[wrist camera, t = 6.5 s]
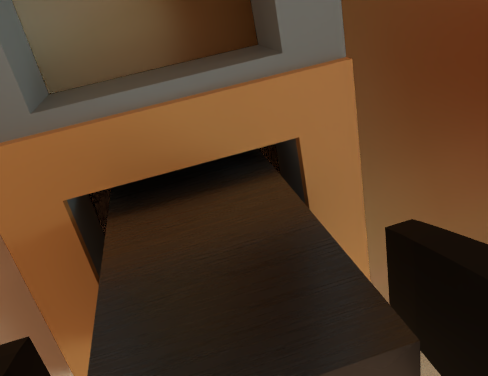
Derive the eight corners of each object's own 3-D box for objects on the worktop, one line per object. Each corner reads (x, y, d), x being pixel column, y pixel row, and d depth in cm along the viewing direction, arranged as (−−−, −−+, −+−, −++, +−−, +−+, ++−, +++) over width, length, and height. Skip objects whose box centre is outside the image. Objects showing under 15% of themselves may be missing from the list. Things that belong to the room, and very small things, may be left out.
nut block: (245, 133, 12) (420, 340, 5) (267, 243, 13) (422, 526, 6) (113, 167, 11) (77, 458, 4) (152, 277, 13) (173, 627, 6)
